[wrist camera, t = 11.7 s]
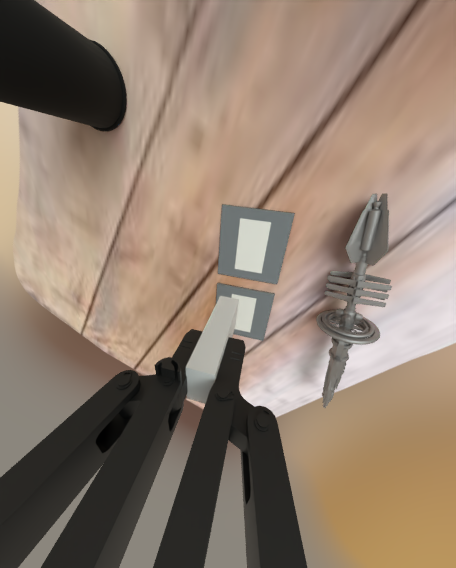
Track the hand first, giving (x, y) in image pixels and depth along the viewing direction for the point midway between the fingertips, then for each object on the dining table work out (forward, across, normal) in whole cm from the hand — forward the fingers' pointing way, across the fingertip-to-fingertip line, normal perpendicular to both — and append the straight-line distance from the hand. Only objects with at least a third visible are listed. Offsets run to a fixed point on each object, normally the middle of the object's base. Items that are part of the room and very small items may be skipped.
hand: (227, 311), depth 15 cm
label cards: (+16, 0, -6) cm, 18 cm away
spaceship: (+17, +16, -8) cm, 24 cm away
